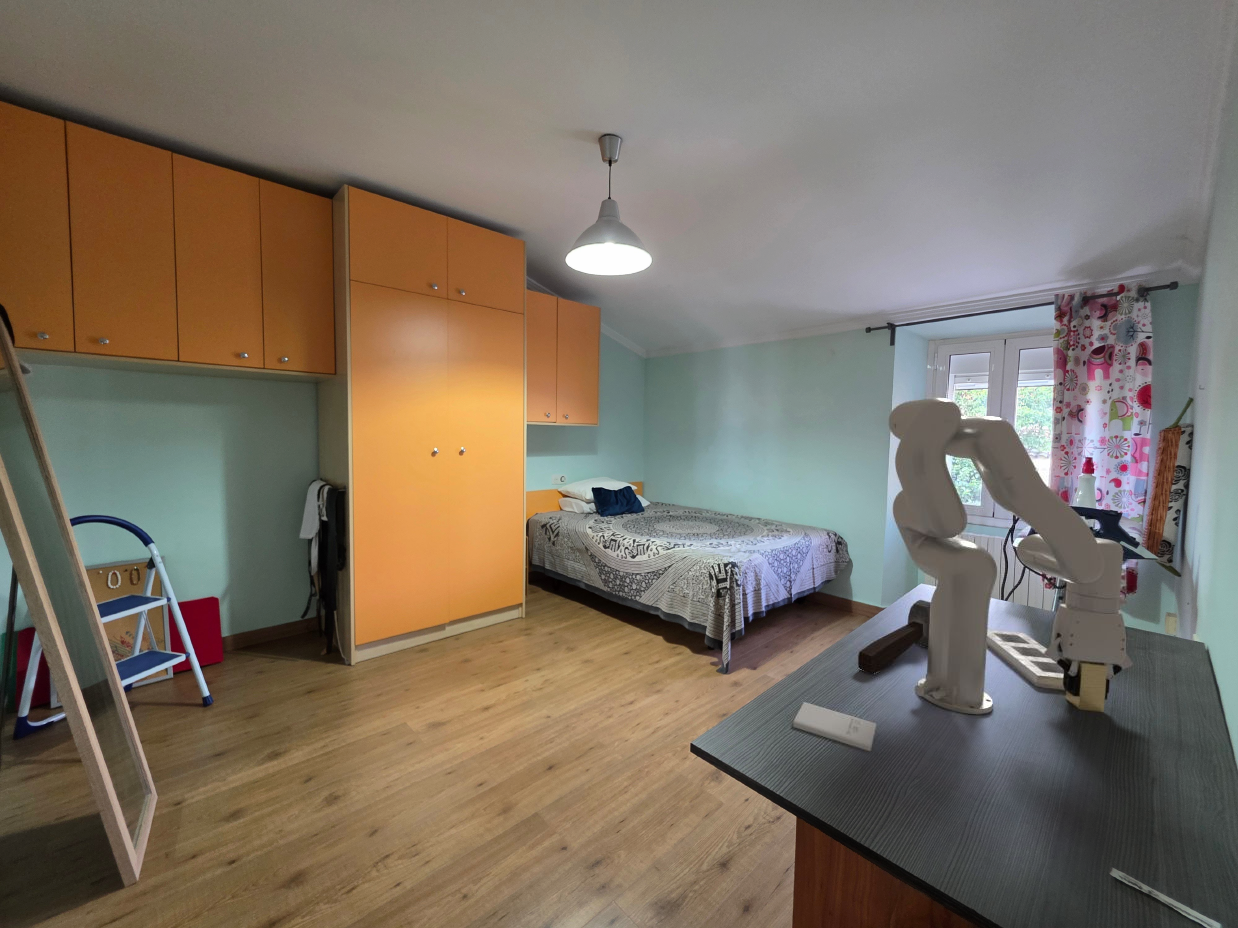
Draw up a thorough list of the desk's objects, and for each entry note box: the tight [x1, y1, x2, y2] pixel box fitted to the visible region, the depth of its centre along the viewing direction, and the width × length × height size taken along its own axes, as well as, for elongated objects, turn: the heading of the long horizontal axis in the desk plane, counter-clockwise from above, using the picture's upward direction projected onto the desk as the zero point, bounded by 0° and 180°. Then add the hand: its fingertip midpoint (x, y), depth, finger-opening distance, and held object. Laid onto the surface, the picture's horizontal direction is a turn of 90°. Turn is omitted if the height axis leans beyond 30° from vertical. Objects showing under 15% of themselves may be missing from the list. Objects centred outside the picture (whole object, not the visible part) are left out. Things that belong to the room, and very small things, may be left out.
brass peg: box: [1065, 661, 1107, 713], centre depth 98 cm, size 4×4×9 cm
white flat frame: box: [987, 629, 1066, 691], centre depth 117 cm, size 26×10×2 cm, turn 167°
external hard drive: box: [792, 701, 878, 752], centre depth 89 cm, size 2×8×12 cm
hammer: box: [857, 599, 931, 675], centre depth 118 cm, size 5×11×30 cm
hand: (1085, 693), depth 98 cm, fingers closed on brass peg, 4 cm apart
